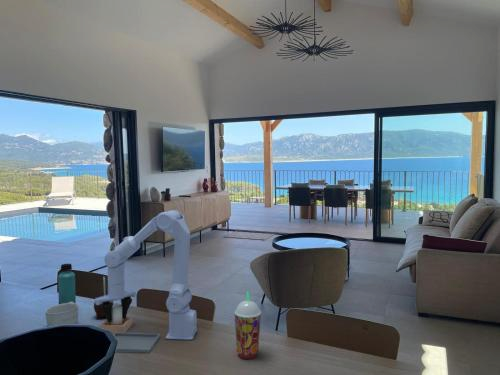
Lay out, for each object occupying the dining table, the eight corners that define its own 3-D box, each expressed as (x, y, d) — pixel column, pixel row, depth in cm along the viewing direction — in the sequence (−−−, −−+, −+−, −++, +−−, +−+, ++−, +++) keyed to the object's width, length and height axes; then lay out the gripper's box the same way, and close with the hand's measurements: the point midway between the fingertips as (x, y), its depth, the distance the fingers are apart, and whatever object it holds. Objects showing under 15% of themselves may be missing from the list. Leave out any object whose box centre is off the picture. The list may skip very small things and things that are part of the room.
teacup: (65, 336, 133) (65, 313, 133) (38, 333, 135) (38, 311, 135) (89, 321, 147) (89, 300, 146) (65, 318, 149) (64, 298, 149)
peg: (124, 326, 141) (124, 305, 140) (119, 330, 137) (119, 308, 136) (113, 326, 141) (113, 304, 141) (109, 330, 137) (108, 308, 137)
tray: (160, 338, 132) (160, 333, 132) (149, 354, 120) (149, 349, 120) (115, 336, 133) (115, 332, 133) (99, 352, 121) (99, 348, 121)
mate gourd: (102, 322, 145) (101, 283, 145) (88, 318, 149) (88, 280, 149) (117, 316, 152) (117, 279, 151) (104, 312, 156) (104, 276, 155)
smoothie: (235, 348, 124) (235, 287, 123) (260, 348, 124) (261, 288, 123) (233, 361, 116) (233, 296, 115) (260, 361, 116) (261, 296, 115)
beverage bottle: (79, 311, 156) (78, 263, 156) (64, 316, 151) (63, 266, 150) (70, 308, 160) (69, 261, 159) (54, 313, 154) (54, 264, 154)
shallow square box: (132, 325, 143) (132, 317, 143) (123, 334, 134) (123, 326, 134) (110, 324, 143) (110, 316, 143) (99, 334, 135) (99, 325, 135)
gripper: (130, 277, 146) (130, 311, 146) (91, 284, 136) (92, 321, 137) (138, 281, 141) (139, 317, 141) (99, 288, 131) (99, 327, 132)
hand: (116, 319), depth 139 cm, fingers open, 5 cm apart
